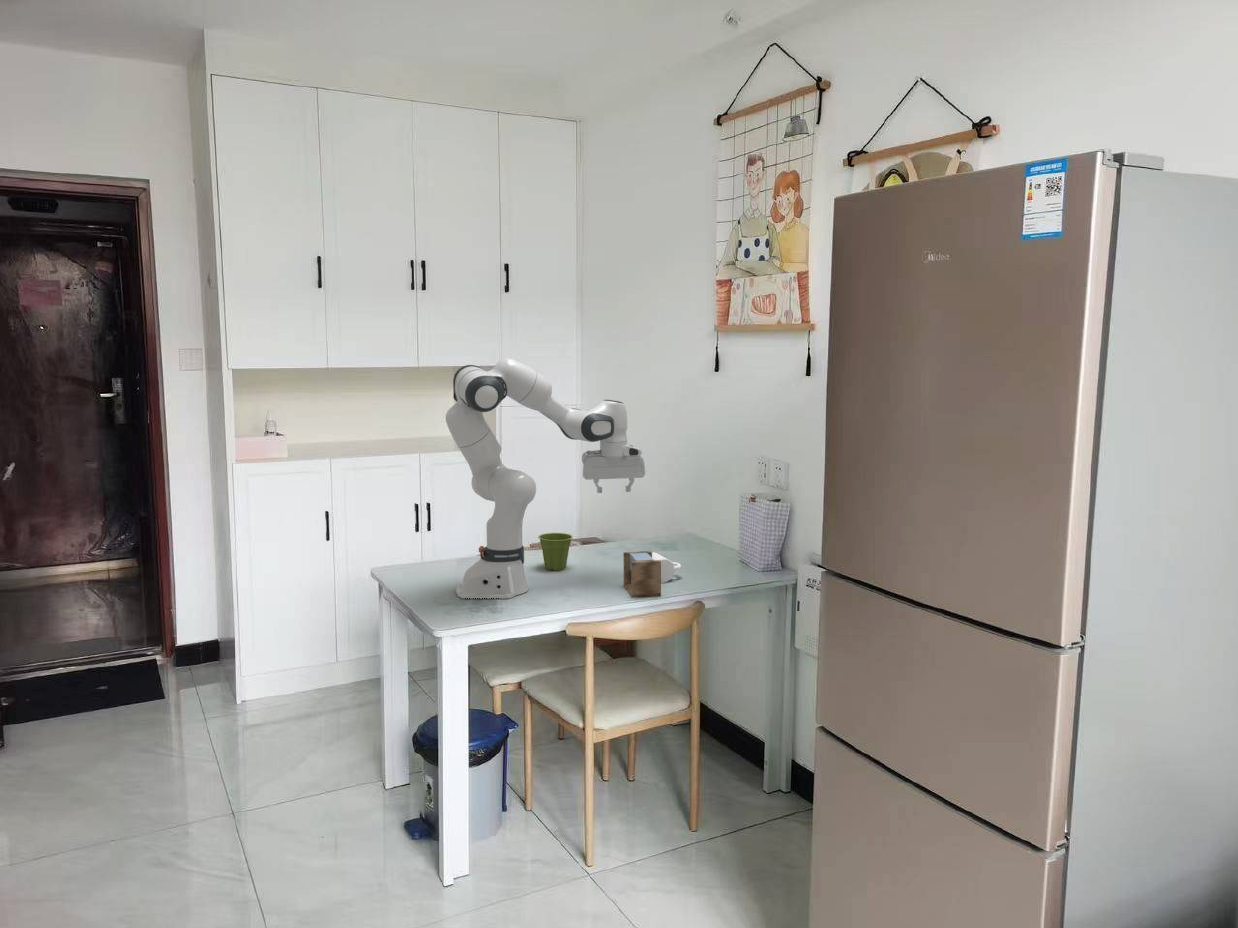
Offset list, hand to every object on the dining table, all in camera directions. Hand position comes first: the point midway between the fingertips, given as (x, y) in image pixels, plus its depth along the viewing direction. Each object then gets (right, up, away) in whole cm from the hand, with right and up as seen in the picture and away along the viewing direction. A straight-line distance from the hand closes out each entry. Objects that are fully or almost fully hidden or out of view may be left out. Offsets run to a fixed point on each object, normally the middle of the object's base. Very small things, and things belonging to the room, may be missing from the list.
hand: (613, 492), depth 293 cm
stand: (+9, -31, -9) cm, 33 cm away
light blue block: (+9, -25, -10) cm, 28 cm away
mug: (+16, -29, +5) cm, 33 cm away
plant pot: (-20, -27, +18) cm, 38 cm away
